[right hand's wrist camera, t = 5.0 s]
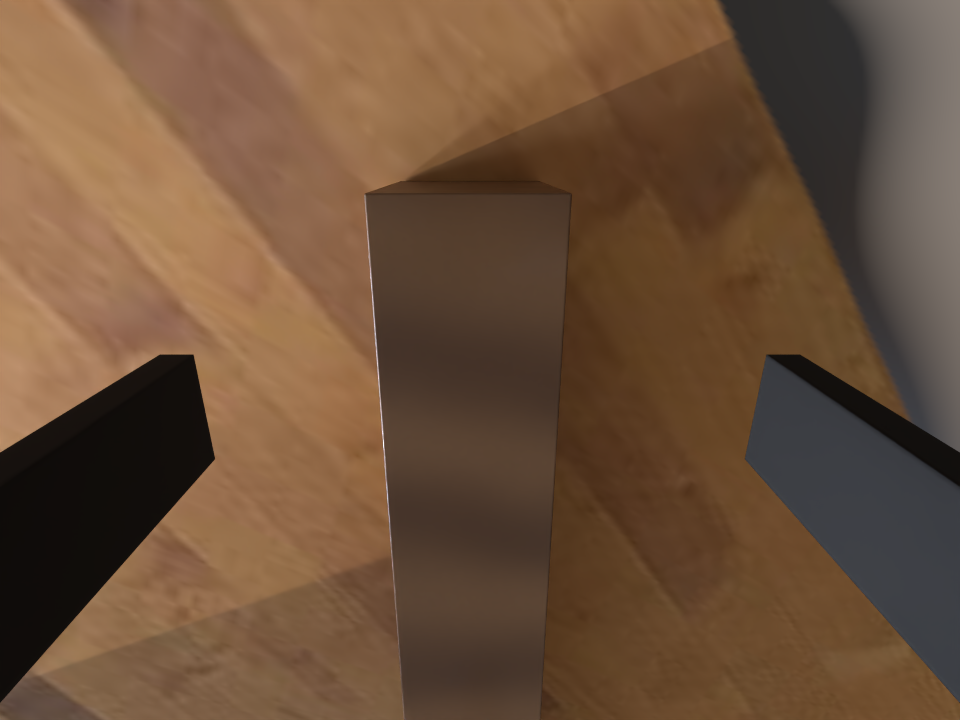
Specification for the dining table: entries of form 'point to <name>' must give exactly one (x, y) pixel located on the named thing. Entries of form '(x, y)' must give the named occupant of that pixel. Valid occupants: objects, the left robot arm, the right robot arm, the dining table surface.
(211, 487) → the dining table surface
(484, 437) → the post
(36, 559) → the right robot arm
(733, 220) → the dining table surface
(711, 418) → the dining table surface
